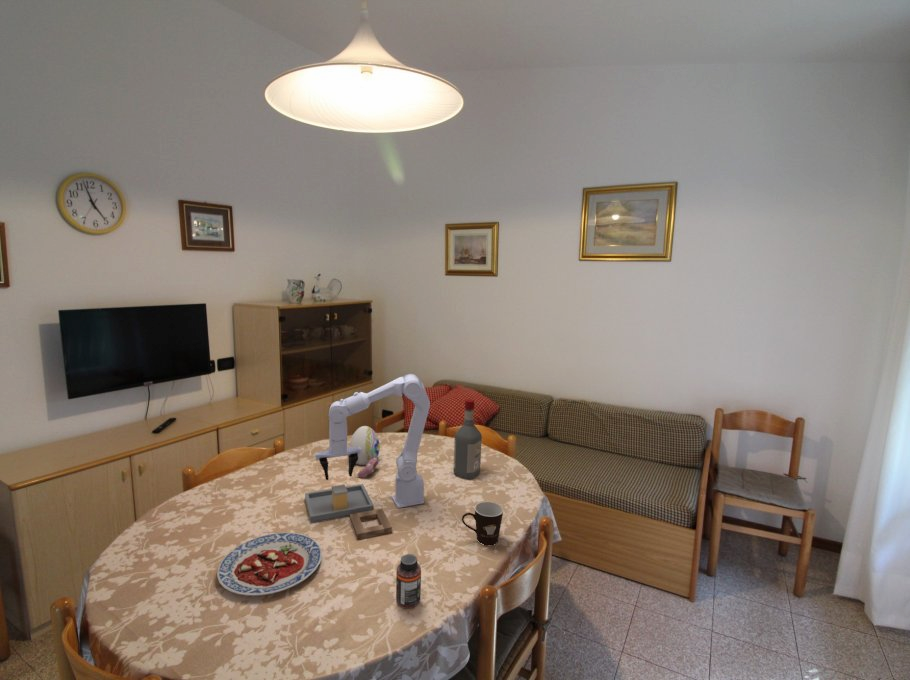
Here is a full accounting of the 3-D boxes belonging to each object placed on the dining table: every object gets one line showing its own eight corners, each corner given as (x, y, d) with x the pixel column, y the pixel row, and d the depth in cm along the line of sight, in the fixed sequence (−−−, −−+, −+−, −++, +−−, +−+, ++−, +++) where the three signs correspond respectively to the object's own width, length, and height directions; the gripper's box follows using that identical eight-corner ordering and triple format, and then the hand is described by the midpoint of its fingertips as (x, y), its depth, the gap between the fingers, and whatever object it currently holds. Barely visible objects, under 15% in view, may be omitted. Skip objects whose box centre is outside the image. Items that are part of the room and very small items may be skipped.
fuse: (344, 502, 156) (344, 484, 155) (347, 509, 151) (347, 491, 150) (331, 504, 154) (331, 486, 153) (334, 512, 149) (334, 493, 148)
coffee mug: (504, 535, 141) (506, 504, 140) (497, 550, 133) (499, 519, 131) (468, 526, 145) (469, 497, 143) (459, 541, 137) (461, 510, 135)
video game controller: (366, 483, 175) (374, 468, 173) (355, 476, 175) (363, 462, 173) (375, 471, 184) (383, 458, 183) (365, 465, 185) (373, 452, 183)
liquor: (482, 472, 183) (485, 400, 178) (470, 481, 176) (473, 405, 171) (462, 466, 188) (465, 395, 183) (450, 474, 180) (453, 401, 176)
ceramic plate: (259, 618, 105) (258, 607, 105) (196, 576, 119) (196, 565, 118) (342, 560, 127) (342, 550, 126) (281, 529, 140) (281, 520, 140)
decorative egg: (376, 468, 184) (376, 432, 182) (346, 466, 184) (346, 431, 182) (381, 455, 196) (382, 421, 194) (353, 454, 196) (353, 420, 194)
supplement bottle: (396, 592, 115) (397, 551, 113) (420, 591, 115) (421, 550, 114) (395, 610, 109) (396, 566, 107) (420, 609, 110) (421, 566, 108)
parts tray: (362, 489, 166) (362, 483, 166) (373, 511, 152) (373, 505, 151) (305, 499, 158) (305, 493, 158) (310, 523, 144) (310, 516, 143)
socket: (382, 513, 151) (382, 508, 150) (392, 532, 140) (392, 527, 140) (349, 519, 146) (349, 514, 146) (357, 539, 136) (357, 534, 136)
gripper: (357, 431, 158) (357, 468, 160) (313, 436, 152) (314, 475, 154) (362, 438, 151) (362, 477, 153) (316, 444, 145) (317, 484, 148)
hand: (338, 476), depth 153 cm, fingers open, 7 cm apart
